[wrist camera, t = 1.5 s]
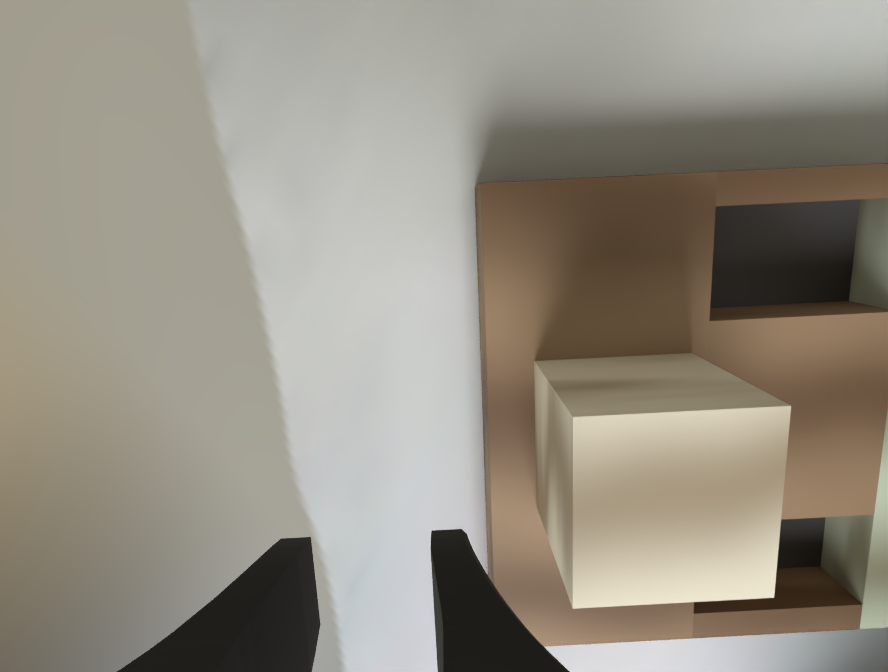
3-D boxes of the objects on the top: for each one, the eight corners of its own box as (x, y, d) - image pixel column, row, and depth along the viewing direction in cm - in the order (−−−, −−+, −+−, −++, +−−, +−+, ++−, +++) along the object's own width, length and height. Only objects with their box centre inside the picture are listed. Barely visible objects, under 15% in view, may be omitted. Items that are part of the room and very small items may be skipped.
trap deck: (986, 574, 22) (1053, 618, 20) (489, 601, 22) (496, 648, 20) (1060, 159, 19) (1153, 150, 17) (474, 187, 19) (481, 183, 16)
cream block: (685, 497, 19) (774, 597, 14) (536, 505, 19) (572, 608, 14) (692, 353, 18) (791, 405, 13) (534, 361, 18) (573, 417, 13)
